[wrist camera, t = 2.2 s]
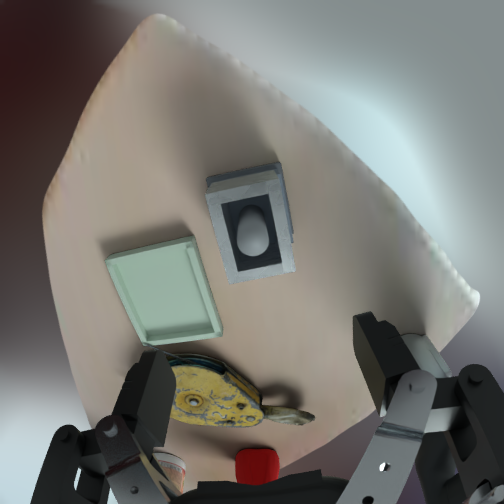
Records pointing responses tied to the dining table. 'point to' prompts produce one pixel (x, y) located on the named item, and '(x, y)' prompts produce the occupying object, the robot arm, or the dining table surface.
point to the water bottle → (256, 466)
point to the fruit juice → (173, 468)
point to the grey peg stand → (254, 212)
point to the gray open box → (235, 261)
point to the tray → (166, 292)
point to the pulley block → (221, 396)
